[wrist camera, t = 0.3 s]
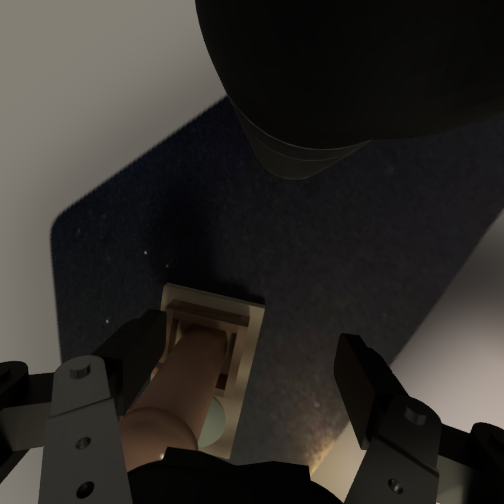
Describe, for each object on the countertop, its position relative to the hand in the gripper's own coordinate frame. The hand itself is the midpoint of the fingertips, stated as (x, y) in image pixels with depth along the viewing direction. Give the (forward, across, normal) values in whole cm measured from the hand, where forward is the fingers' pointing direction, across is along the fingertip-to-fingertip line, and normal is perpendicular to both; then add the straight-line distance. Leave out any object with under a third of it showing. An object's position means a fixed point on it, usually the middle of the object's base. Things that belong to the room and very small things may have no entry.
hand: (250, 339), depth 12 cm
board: (+18, +6, +17) cm, 25 cm away
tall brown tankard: (+17, +5, +12) cm, 21 cm away
